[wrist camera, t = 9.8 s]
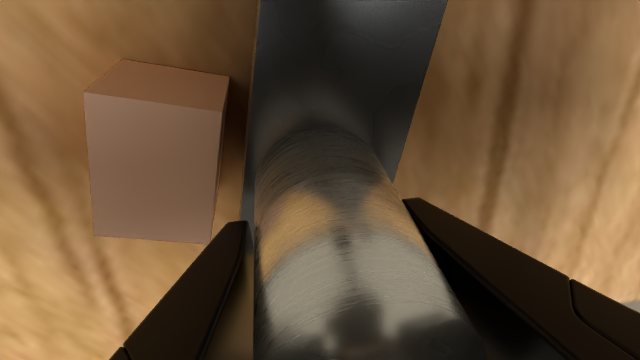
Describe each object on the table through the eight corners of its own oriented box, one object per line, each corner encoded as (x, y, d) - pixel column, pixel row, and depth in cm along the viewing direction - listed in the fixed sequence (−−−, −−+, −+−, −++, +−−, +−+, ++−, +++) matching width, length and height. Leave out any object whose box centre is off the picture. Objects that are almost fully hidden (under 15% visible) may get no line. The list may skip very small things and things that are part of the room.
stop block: (122, 58, 11) (83, 92, 9) (229, 76, 12) (222, 111, 9) (125, 179, 13) (94, 235, 11) (218, 189, 14) (209, 244, 11)
